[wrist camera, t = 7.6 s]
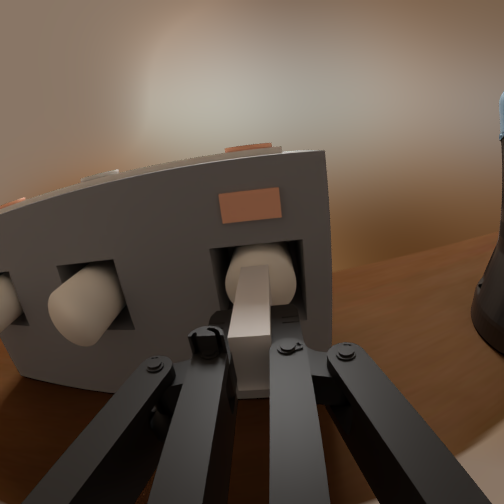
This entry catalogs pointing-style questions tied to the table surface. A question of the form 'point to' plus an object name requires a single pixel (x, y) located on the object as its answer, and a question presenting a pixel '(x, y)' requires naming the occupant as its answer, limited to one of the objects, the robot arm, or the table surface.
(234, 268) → the button
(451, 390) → the table surface
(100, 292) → the button middle
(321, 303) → the button panel
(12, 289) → the button
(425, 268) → the table surface
